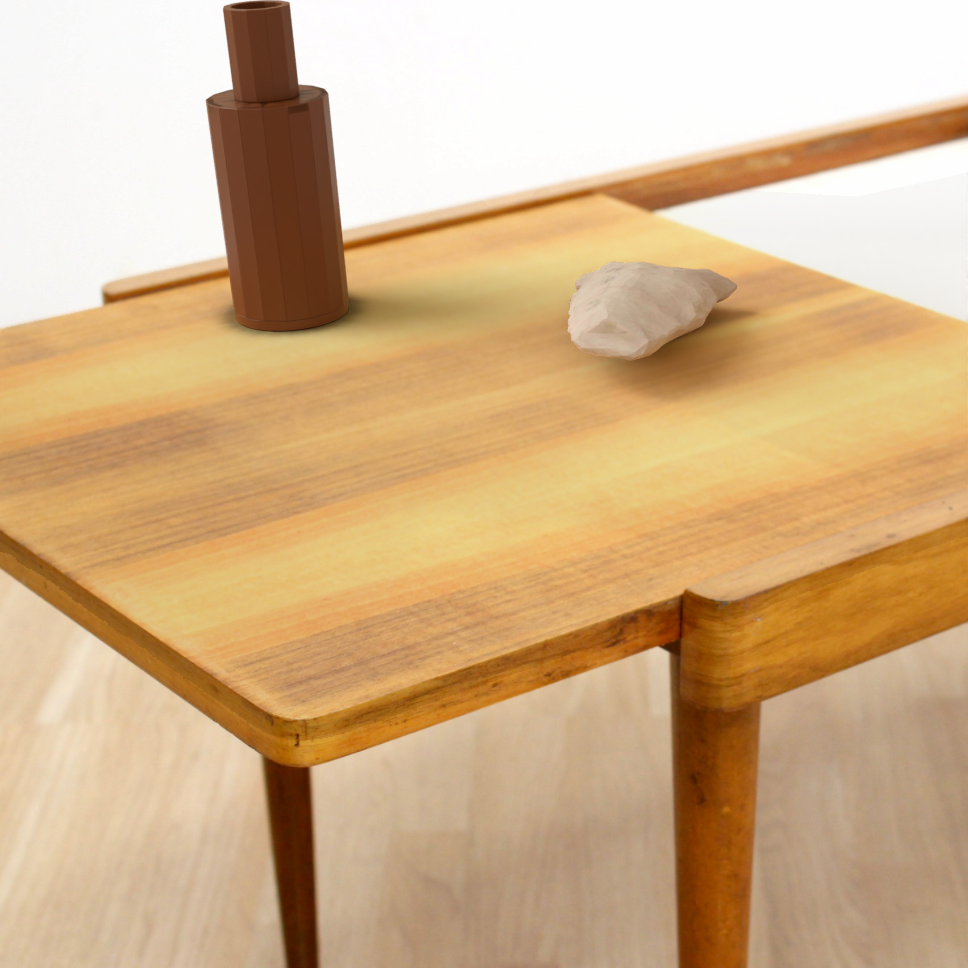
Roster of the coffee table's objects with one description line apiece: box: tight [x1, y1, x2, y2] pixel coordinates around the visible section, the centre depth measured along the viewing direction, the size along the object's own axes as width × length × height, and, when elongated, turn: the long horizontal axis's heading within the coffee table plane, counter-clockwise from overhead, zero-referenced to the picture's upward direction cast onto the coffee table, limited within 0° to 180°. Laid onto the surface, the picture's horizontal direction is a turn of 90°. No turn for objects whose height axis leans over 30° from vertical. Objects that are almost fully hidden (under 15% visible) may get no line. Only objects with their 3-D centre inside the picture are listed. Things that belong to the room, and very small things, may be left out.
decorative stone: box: [566, 261, 738, 362], centre depth 86 cm, size 10×4×15 cm
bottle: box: [205, 0, 350, 332], centre depth 91 cm, size 7×7×18 cm
